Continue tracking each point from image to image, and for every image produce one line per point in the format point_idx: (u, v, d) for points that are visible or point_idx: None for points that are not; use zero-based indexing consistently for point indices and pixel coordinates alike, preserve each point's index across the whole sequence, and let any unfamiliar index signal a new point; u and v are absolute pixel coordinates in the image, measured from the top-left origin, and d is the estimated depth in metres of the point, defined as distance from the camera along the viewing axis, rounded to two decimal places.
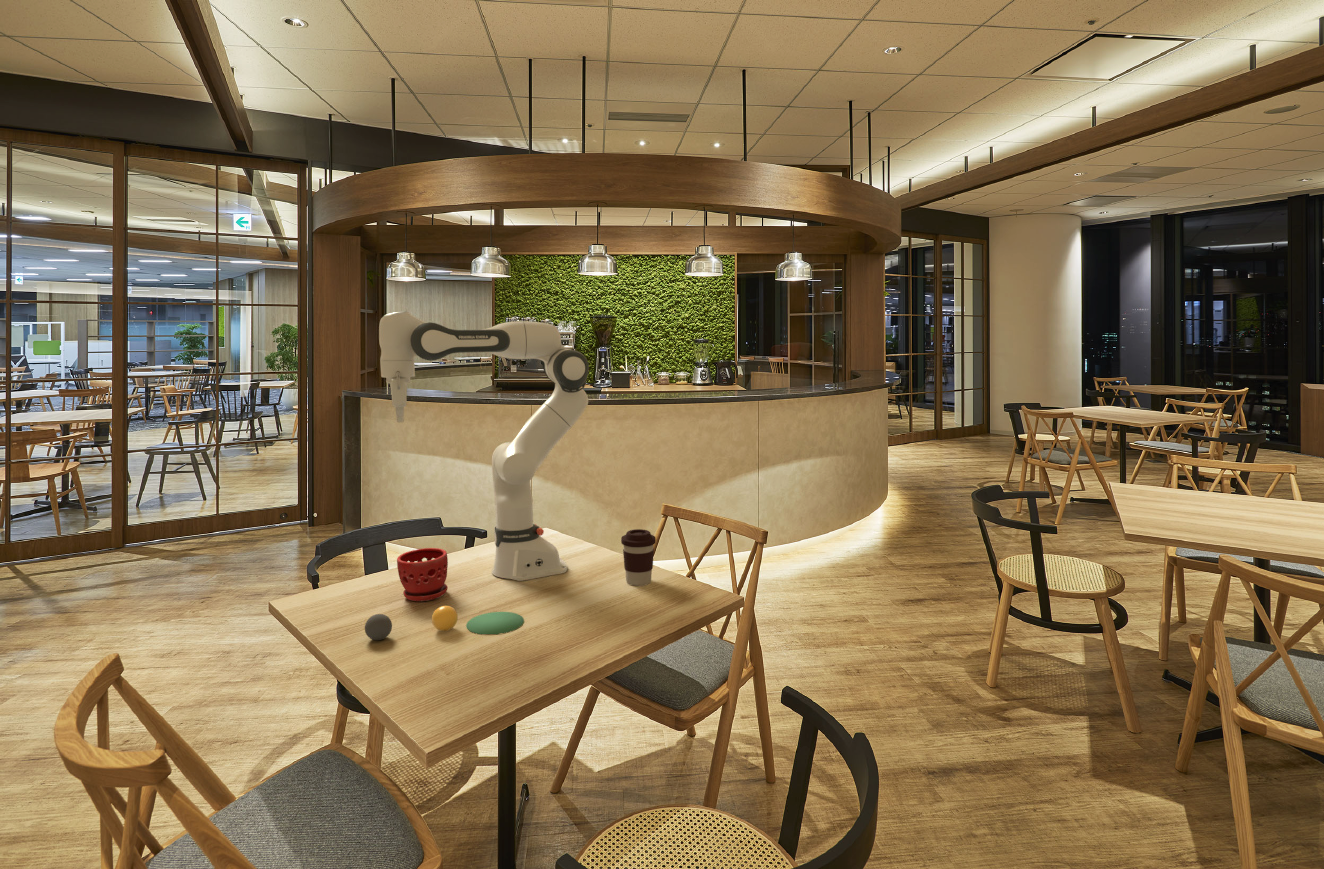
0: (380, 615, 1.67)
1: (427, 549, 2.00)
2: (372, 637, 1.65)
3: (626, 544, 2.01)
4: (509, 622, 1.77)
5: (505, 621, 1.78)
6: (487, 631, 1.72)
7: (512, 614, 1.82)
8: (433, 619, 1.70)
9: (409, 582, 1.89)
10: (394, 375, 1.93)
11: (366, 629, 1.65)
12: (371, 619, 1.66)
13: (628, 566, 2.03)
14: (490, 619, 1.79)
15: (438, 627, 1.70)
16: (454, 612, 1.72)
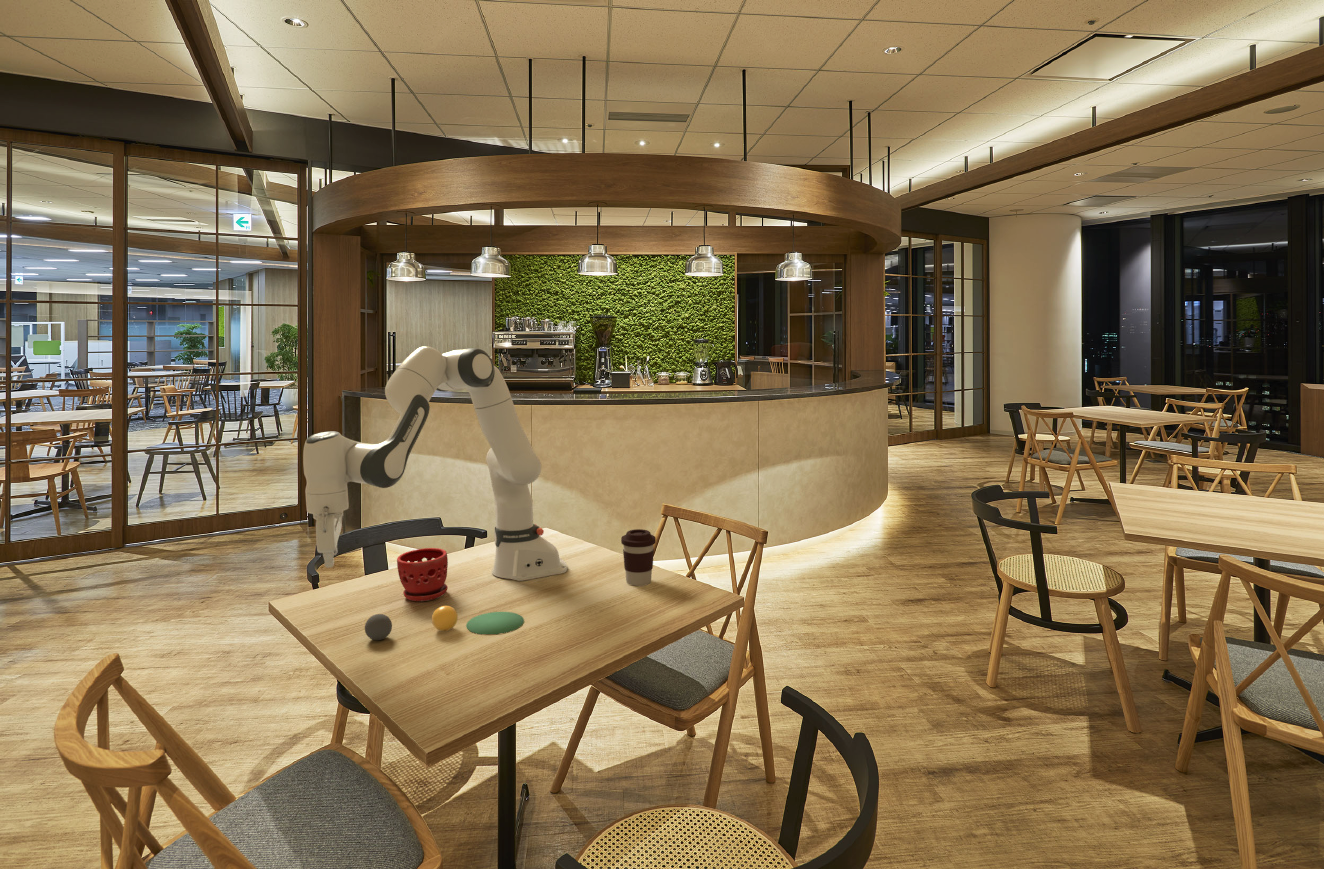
0: (380, 615, 1.67)
1: (427, 549, 2.00)
2: (372, 637, 1.65)
3: (626, 544, 2.01)
4: (509, 622, 1.77)
5: (505, 621, 1.78)
6: (487, 631, 1.72)
7: (512, 614, 1.82)
8: (433, 619, 1.70)
9: (409, 582, 1.89)
10: (321, 511, 1.60)
11: (366, 629, 1.65)
12: (371, 619, 1.66)
13: (628, 566, 2.03)
14: (490, 619, 1.79)
15: (438, 627, 1.70)
16: (454, 612, 1.72)
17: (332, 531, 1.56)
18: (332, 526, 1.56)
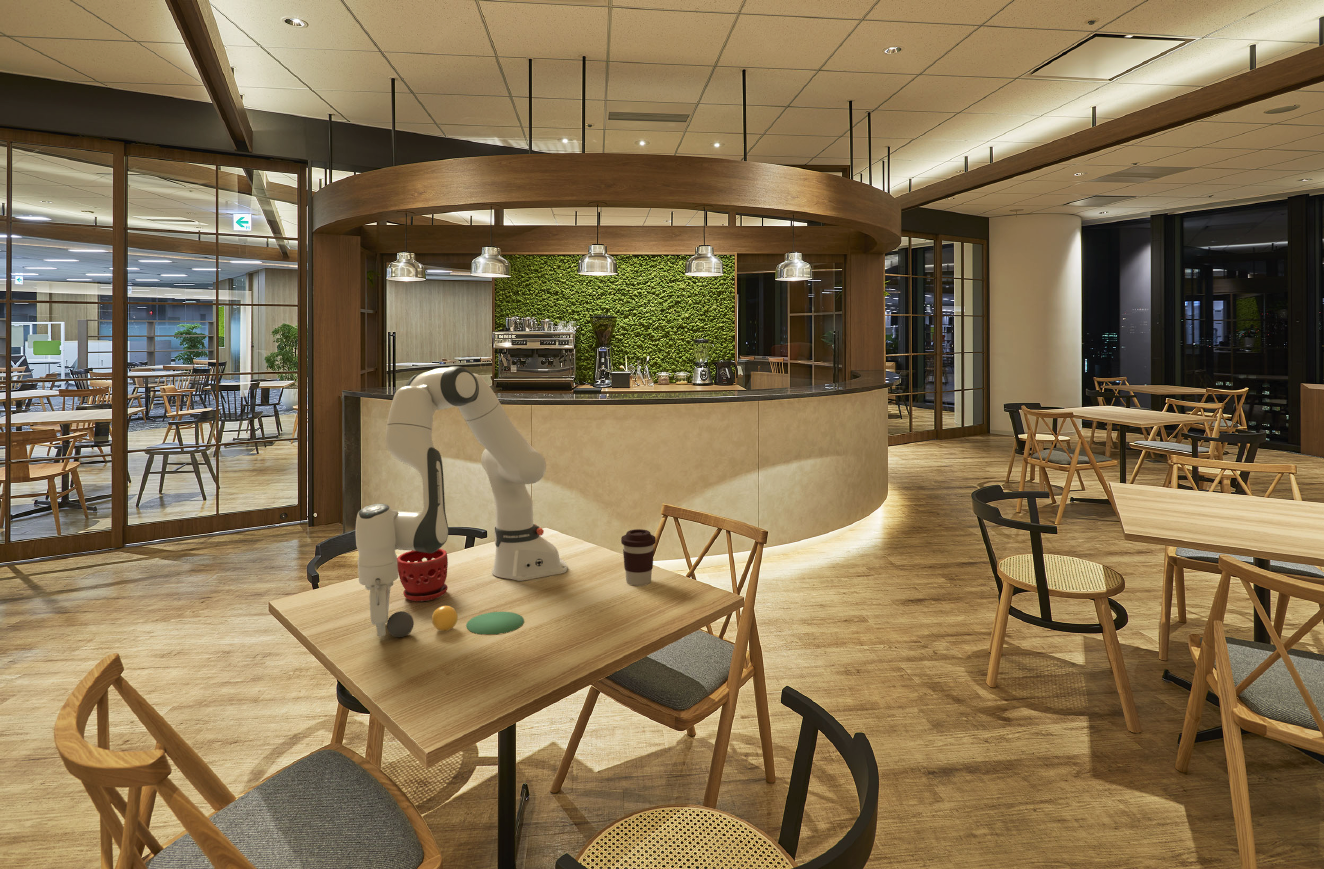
0: (413, 623, 1.70)
1: None
2: (392, 624, 1.66)
3: (626, 544, 2.01)
4: (509, 622, 1.77)
5: (505, 621, 1.78)
6: (487, 631, 1.72)
7: (512, 614, 1.82)
8: (433, 619, 1.70)
9: (409, 582, 1.89)
10: (373, 583, 1.66)
11: (400, 616, 1.67)
12: (410, 617, 1.69)
13: (628, 566, 2.03)
14: (490, 619, 1.79)
15: (438, 627, 1.70)
16: (454, 612, 1.72)
17: (385, 604, 1.62)
18: (385, 599, 1.62)
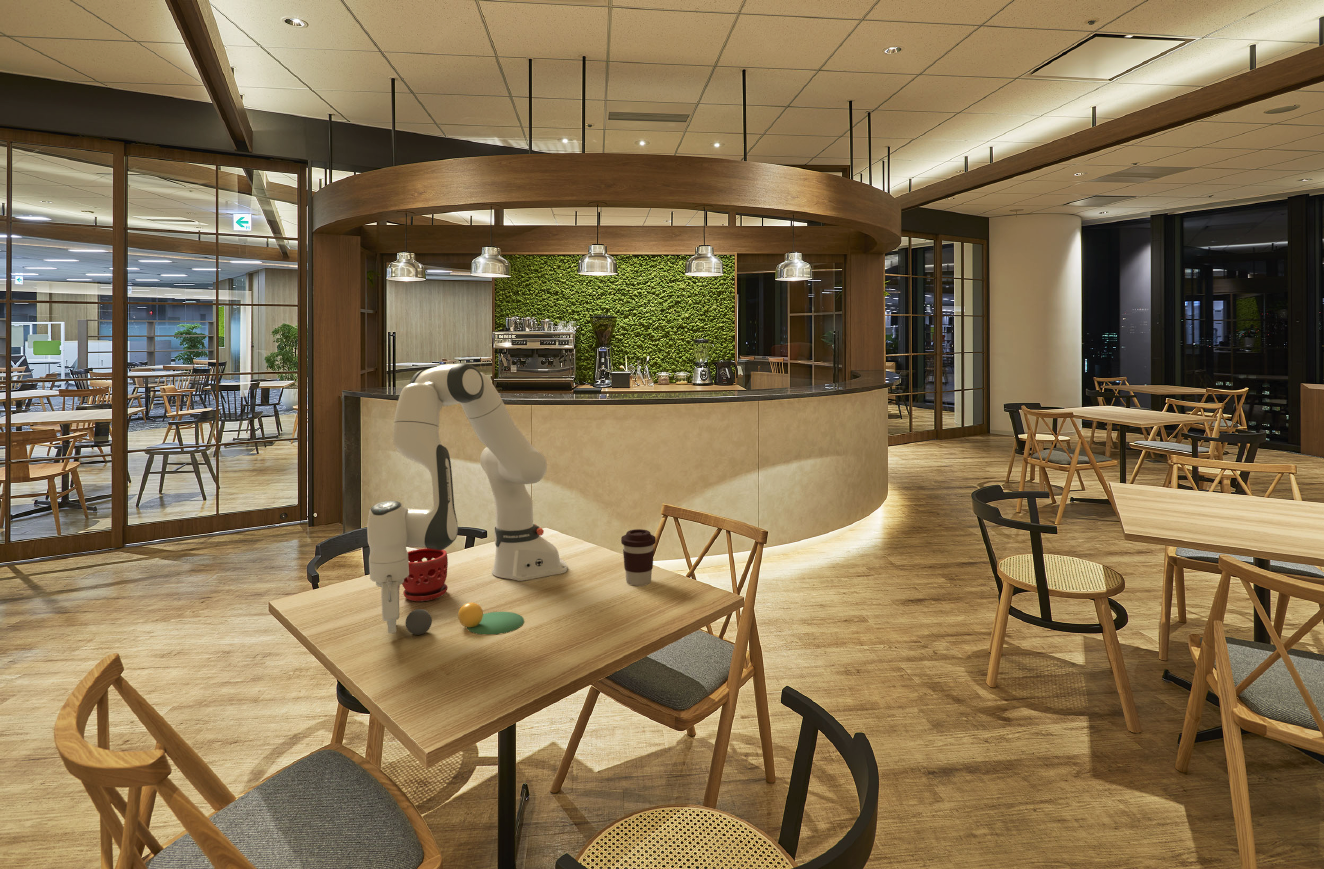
0: None
1: (427, 549, 2.00)
2: (422, 617, 1.68)
3: (626, 544, 2.01)
4: (509, 622, 1.77)
5: (505, 621, 1.78)
6: (487, 631, 1.72)
7: (512, 614, 1.82)
8: (477, 607, 1.74)
9: (409, 582, 1.89)
10: (385, 580, 1.66)
11: (429, 621, 1.70)
12: None
13: (628, 566, 2.03)
14: (490, 619, 1.79)
15: (469, 610, 1.72)
16: None
17: (397, 600, 1.63)
18: (397, 595, 1.63)
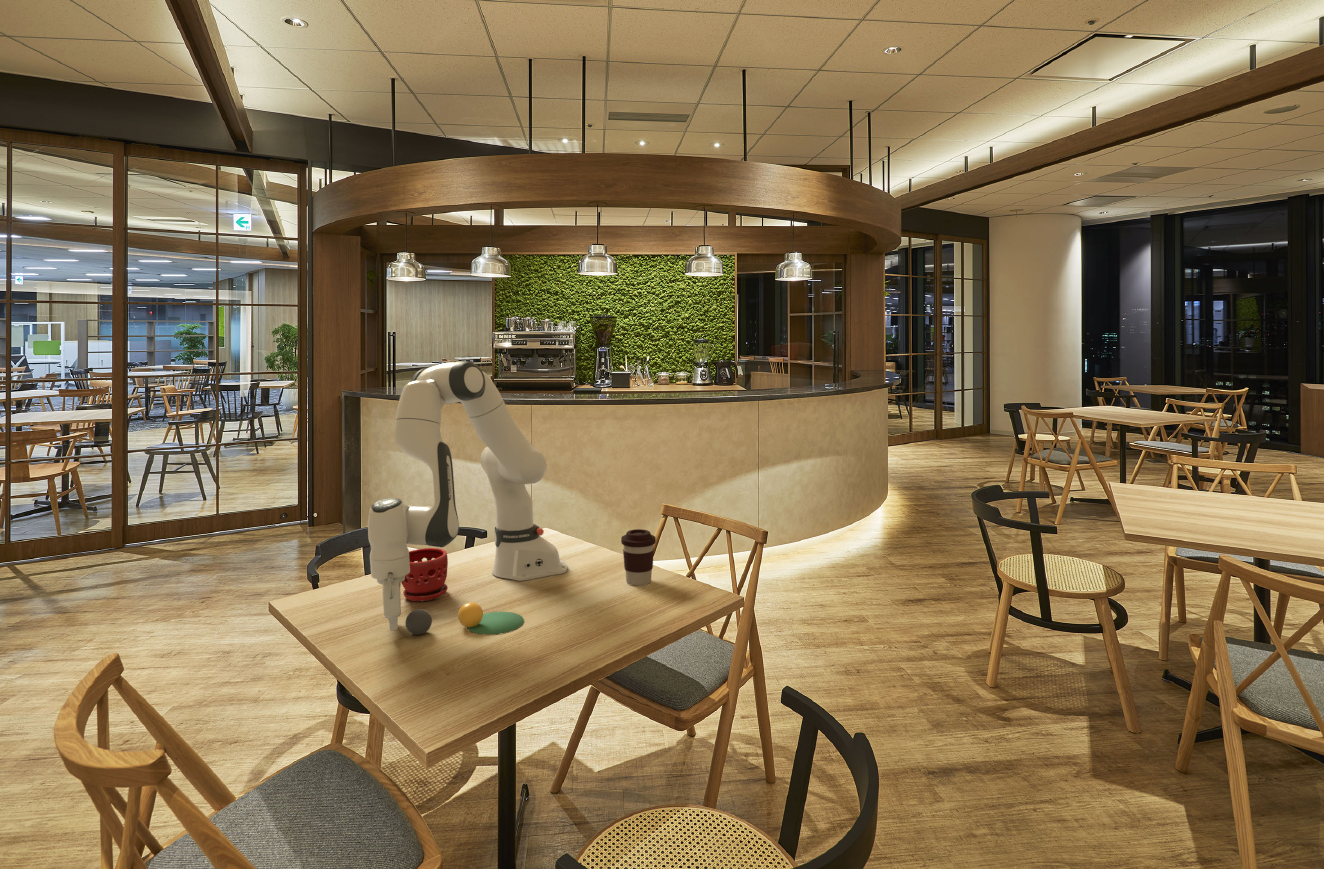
0: None
1: (427, 549, 2.00)
2: (422, 617, 1.68)
3: (626, 544, 2.01)
4: (509, 622, 1.77)
5: (505, 621, 1.78)
6: (487, 631, 1.72)
7: (512, 614, 1.82)
8: (477, 607, 1.74)
9: (409, 582, 1.89)
10: (386, 577, 1.66)
11: (429, 621, 1.70)
12: None
13: (628, 566, 2.03)
14: (490, 619, 1.79)
15: (469, 610, 1.72)
16: None
17: (398, 597, 1.63)
18: (398, 592, 1.63)
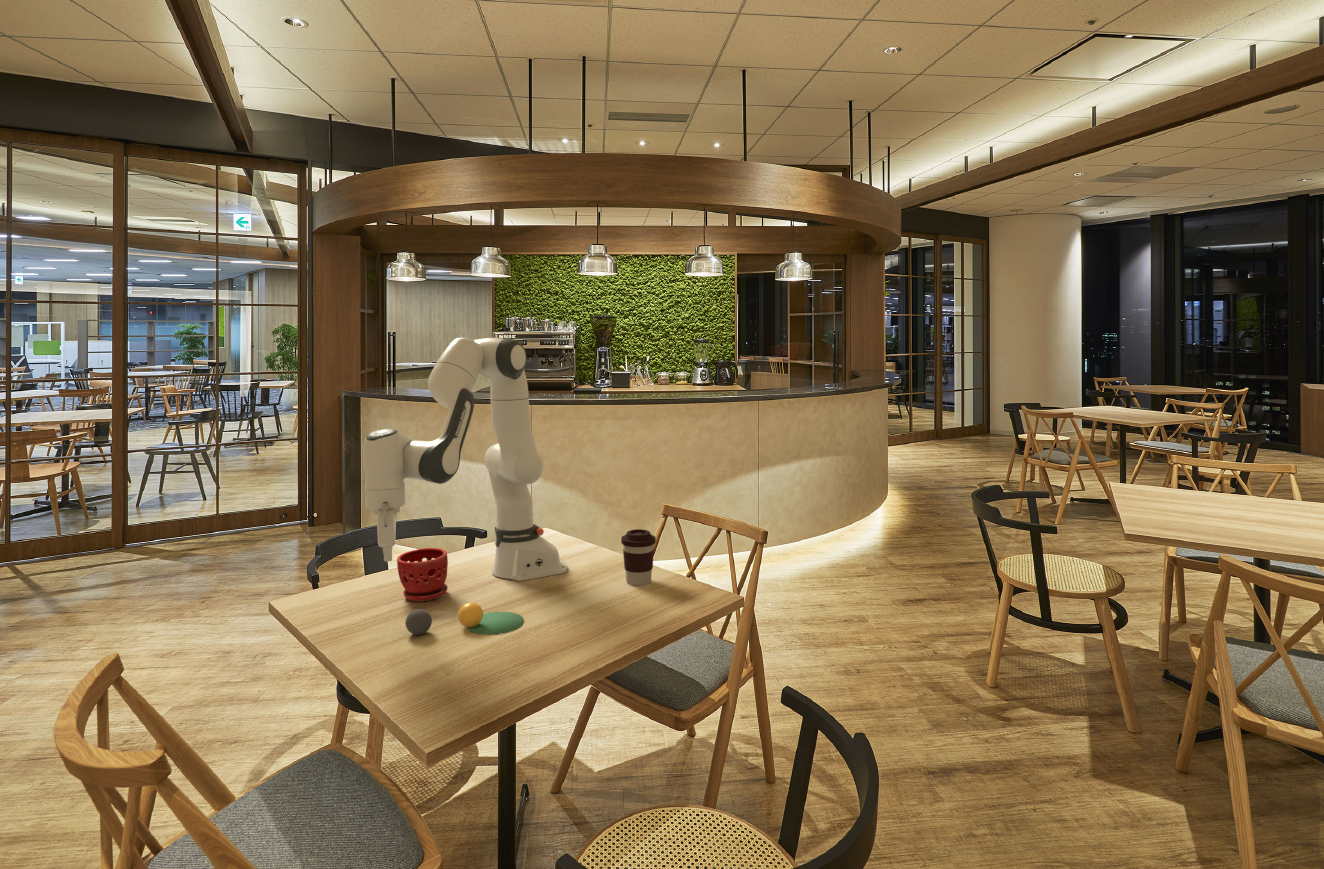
0: None
1: (427, 549, 2.00)
2: (422, 617, 1.68)
3: (626, 544, 2.01)
4: (509, 622, 1.77)
5: (505, 621, 1.78)
6: (487, 631, 1.72)
7: (512, 614, 1.82)
8: (477, 607, 1.74)
9: (409, 582, 1.89)
10: (381, 507, 1.64)
11: (429, 621, 1.70)
12: None
13: (628, 566, 2.03)
14: (490, 619, 1.79)
15: (469, 610, 1.72)
16: None
17: (393, 526, 1.60)
18: (392, 521, 1.60)
